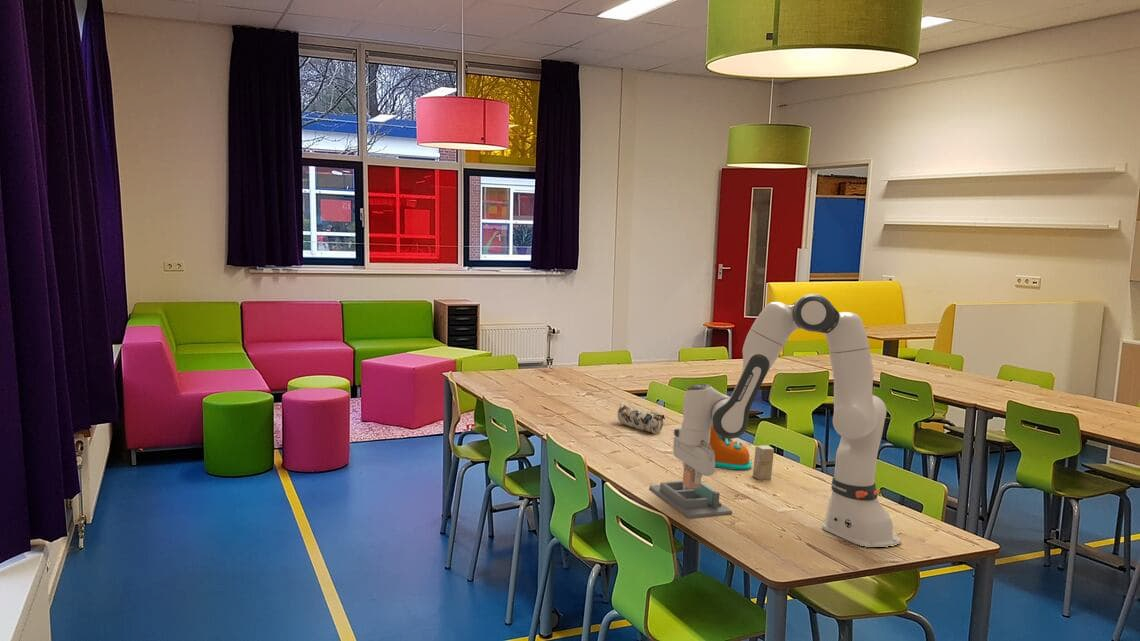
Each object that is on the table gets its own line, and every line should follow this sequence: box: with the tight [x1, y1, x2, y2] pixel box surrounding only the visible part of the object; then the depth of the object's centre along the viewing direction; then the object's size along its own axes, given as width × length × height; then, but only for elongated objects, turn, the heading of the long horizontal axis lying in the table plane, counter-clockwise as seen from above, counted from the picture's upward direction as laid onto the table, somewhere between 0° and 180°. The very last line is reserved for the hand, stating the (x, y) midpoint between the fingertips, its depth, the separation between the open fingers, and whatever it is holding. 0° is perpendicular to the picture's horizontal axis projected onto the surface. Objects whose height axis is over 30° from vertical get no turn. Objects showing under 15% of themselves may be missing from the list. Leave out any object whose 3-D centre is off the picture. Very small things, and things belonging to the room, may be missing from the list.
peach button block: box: [682, 467, 702, 489], centre depth 240 cm, size 4×4×6 cm
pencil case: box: [617, 402, 666, 435], centre depth 329 cm, size 22×8×10 cm, turn 42°
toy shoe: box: [709, 426, 753, 471], centre depth 285 cm, size 12×20×15 cm, turn 71°
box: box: [752, 445, 775, 480], centre depth 271 cm, size 5×4×11 cm
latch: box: [685, 481, 717, 505], centre depth 246 cm, size 17×1×4 cm, turn 20°
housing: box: [649, 480, 733, 519], centre depth 245 cm, size 26×15×6 cm, turn 20°
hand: (692, 480), depth 240 cm, fingers closed on peach button block, 4 cm apart
